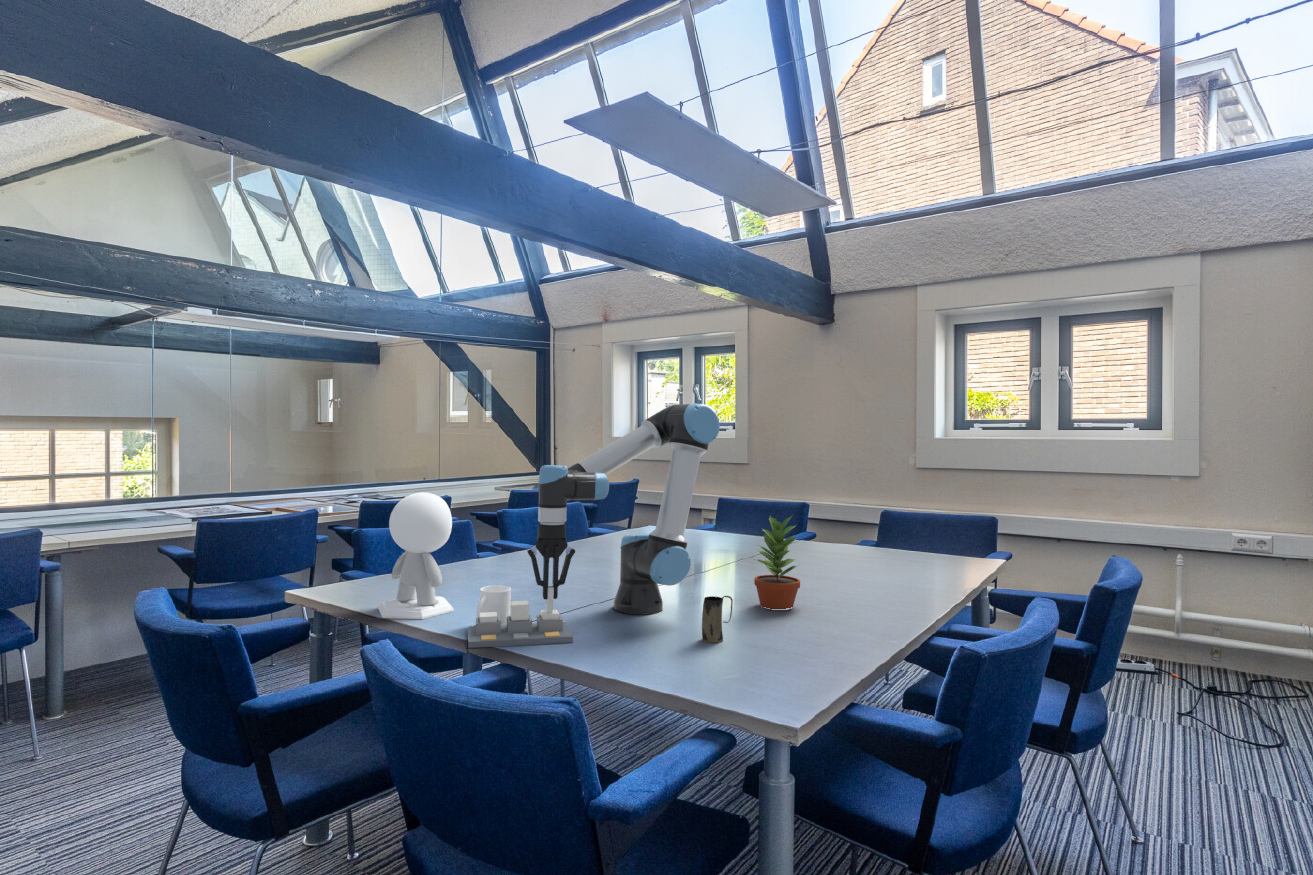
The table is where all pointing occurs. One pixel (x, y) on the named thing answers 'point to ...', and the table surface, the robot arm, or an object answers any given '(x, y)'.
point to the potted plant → (777, 569)
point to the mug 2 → (713, 619)
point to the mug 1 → (495, 601)
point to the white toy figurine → (418, 556)
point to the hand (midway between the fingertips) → (549, 611)
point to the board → (518, 632)
